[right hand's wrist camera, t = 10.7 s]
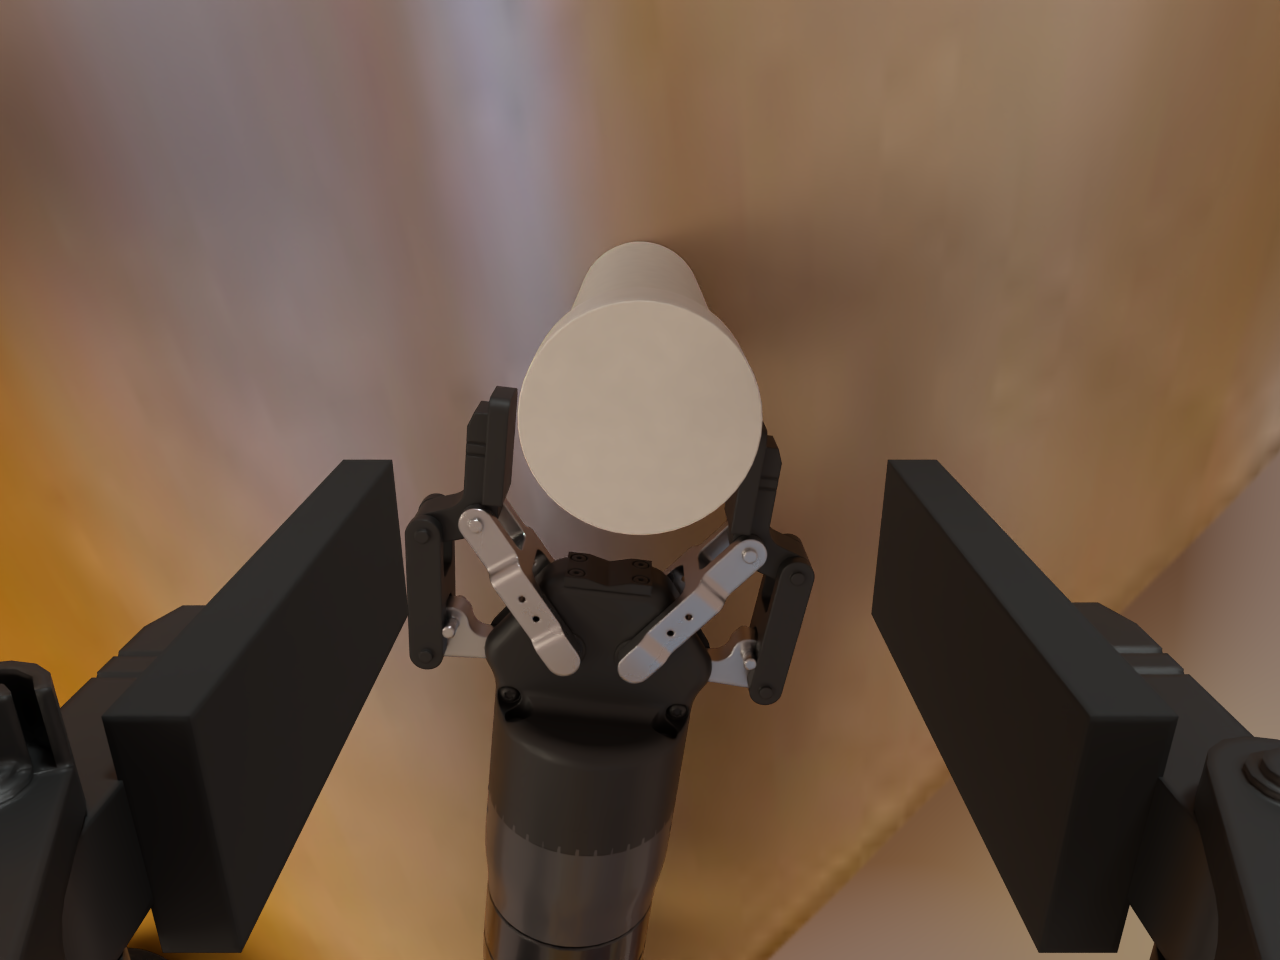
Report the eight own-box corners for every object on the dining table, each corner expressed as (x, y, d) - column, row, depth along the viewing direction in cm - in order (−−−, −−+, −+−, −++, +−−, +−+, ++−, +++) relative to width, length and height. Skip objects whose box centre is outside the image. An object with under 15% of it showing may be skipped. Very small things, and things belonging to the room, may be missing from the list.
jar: (569, 252, 34) (515, 332, 20) (691, 231, 34) (730, 297, 19) (591, 371, 36) (557, 527, 21) (708, 353, 36) (755, 498, 21)
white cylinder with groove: (505, 307, 21) (493, 322, 19) (737, 269, 20) (747, 280, 19) (552, 519, 23) (544, 551, 21) (764, 487, 22) (775, 516, 21)
